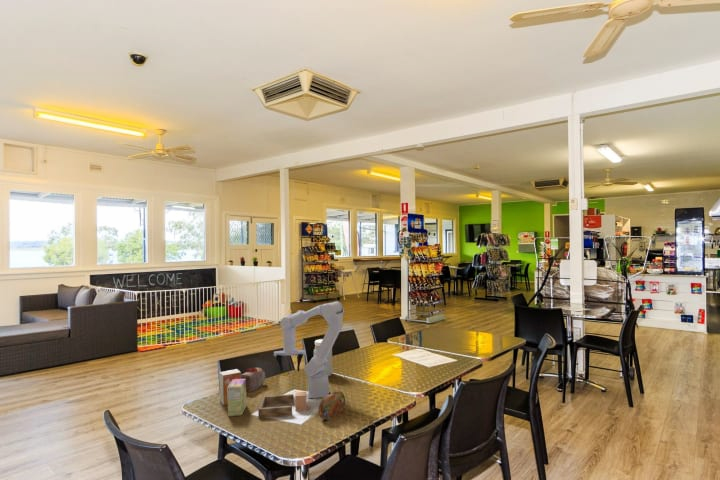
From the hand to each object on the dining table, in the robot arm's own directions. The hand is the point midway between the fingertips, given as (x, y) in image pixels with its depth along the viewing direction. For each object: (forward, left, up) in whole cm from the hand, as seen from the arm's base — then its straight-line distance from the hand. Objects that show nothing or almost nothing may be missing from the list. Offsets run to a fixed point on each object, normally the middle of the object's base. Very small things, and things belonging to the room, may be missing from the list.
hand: (290, 370), depth 195 cm
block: (-6, +22, -10) cm, 25 cm away
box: (+21, +20, -10) cm, 31 cm away
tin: (-18, +32, -10) cm, 38 cm away
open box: (+4, +22, -9) cm, 24 cm away
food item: (+19, -8, -10) cm, 23 cm away
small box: (+26, +8, -10) cm, 29 cm away
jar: (-16, -21, -10) cm, 28 cm away
